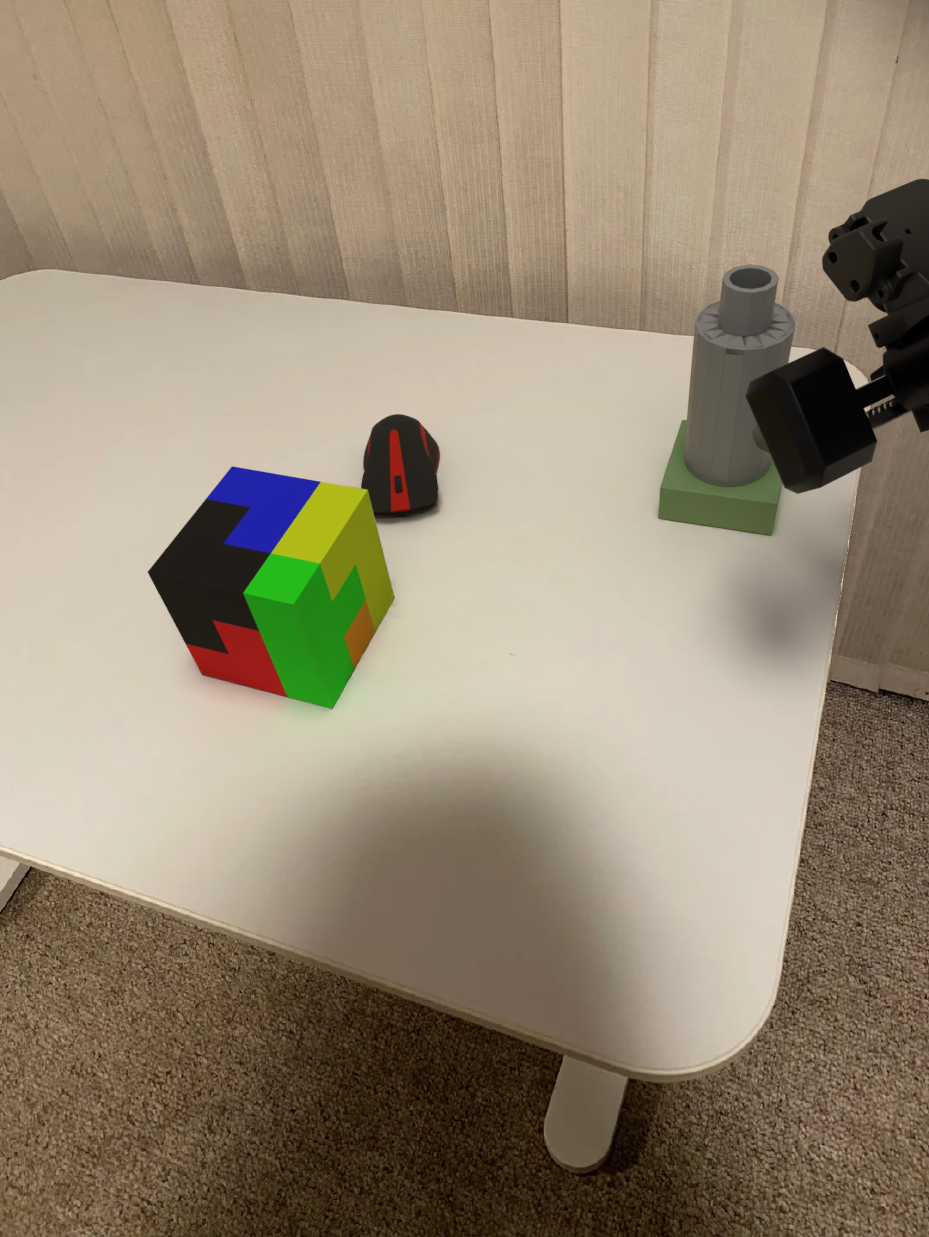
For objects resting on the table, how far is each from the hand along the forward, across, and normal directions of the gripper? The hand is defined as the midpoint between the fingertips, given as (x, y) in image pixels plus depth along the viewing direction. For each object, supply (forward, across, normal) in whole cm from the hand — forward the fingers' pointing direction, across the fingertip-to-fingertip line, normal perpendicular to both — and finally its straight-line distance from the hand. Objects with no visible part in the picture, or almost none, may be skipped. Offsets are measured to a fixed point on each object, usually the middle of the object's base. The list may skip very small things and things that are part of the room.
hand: (816, 410), depth 56 cm
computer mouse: (+24, +19, -8) cm, 32 cm away
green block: (+13, 0, +3) cm, 13 cm away
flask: (+11, 0, +1) cm, 11 cm away
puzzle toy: (+17, +32, 0) cm, 36 cm away
